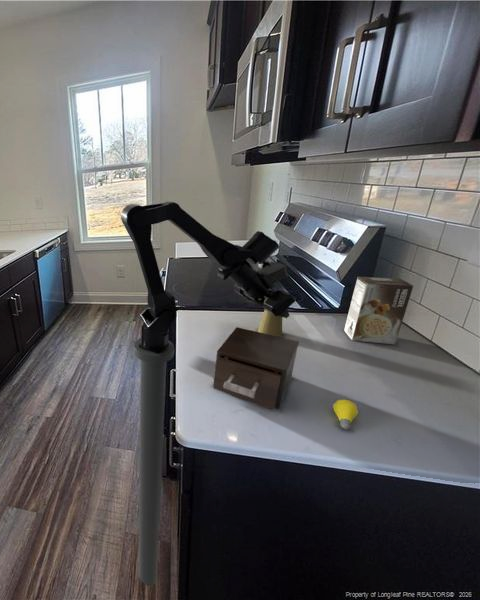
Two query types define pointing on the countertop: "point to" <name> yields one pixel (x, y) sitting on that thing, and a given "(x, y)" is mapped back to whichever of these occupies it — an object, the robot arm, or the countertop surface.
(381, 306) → the coffee box
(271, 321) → the cork
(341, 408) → the light bulb
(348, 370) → the countertop surface
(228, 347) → the cabinet
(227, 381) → the drawer
